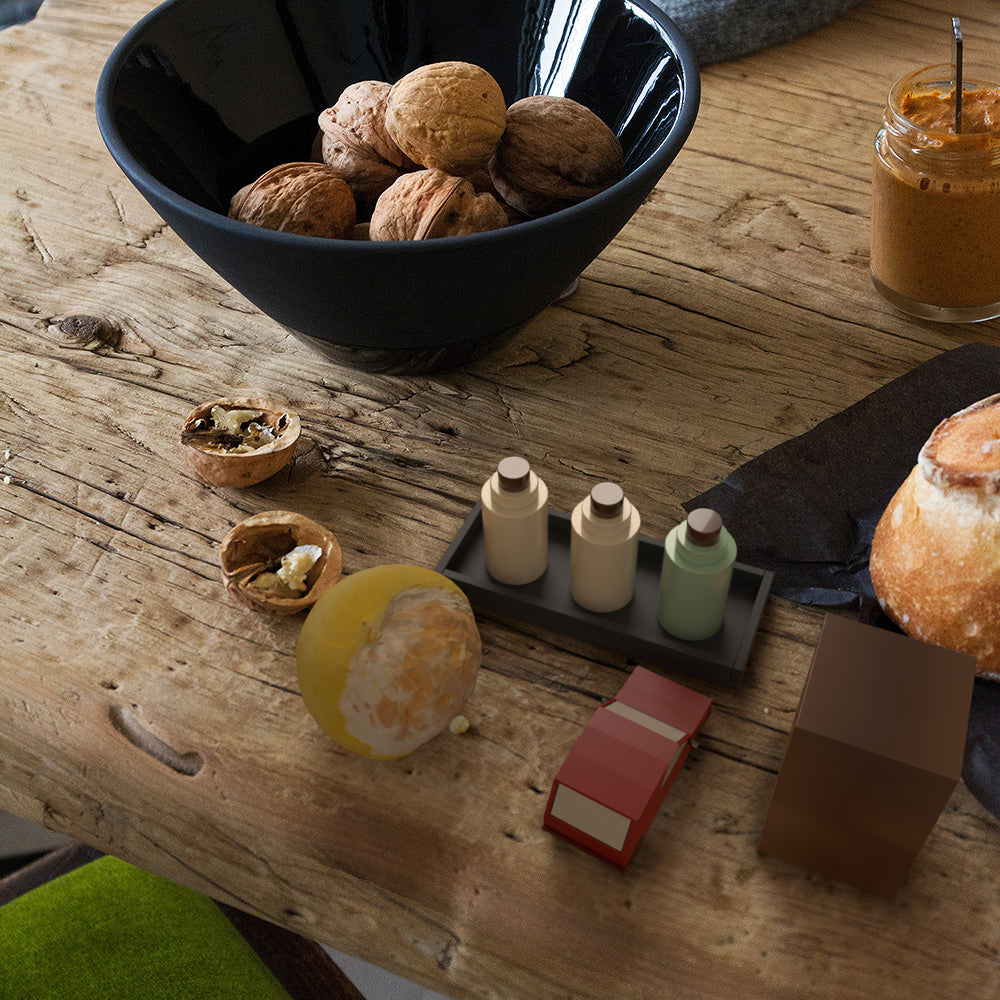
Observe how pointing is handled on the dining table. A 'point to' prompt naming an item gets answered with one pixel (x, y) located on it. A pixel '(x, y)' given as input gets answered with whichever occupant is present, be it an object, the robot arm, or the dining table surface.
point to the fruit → (388, 659)
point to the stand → (869, 755)
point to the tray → (623, 628)
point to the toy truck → (625, 767)
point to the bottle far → (515, 523)
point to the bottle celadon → (696, 576)
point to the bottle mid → (604, 549)
